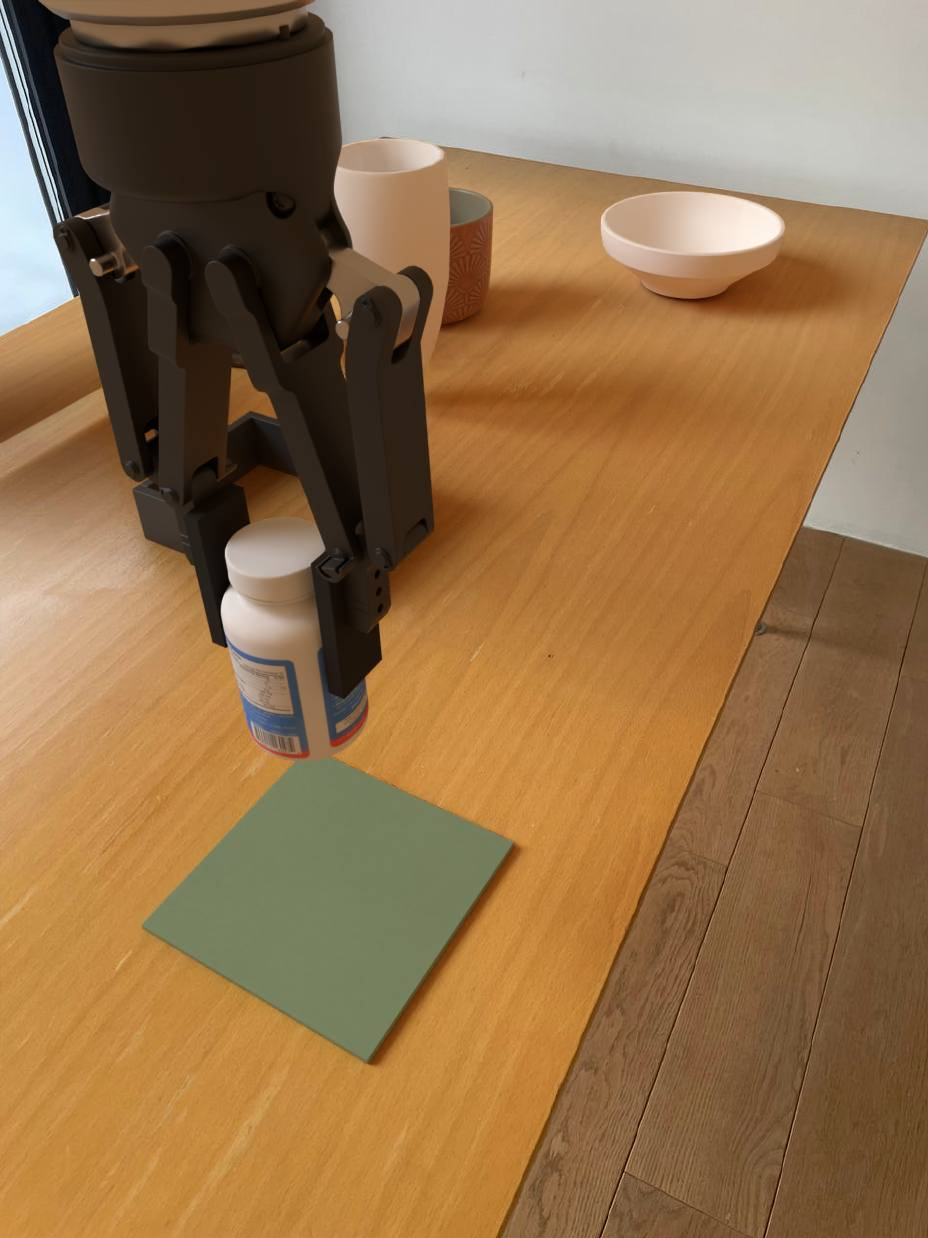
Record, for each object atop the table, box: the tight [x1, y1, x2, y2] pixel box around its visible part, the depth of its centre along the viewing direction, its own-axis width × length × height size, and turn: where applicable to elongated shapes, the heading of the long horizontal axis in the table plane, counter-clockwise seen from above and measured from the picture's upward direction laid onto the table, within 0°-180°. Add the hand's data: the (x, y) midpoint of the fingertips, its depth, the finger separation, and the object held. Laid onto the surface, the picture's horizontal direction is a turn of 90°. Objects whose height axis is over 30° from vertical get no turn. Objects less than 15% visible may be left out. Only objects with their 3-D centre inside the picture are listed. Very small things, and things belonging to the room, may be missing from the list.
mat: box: [141, 756, 515, 1065], centre depth 53 cm, size 14×14×1 cm
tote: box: [131, 410, 299, 555], centre depth 77 cm, size 17×14×4 cm
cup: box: [334, 138, 450, 376], centre depth 86 cm, size 10×10×22 cm
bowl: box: [600, 190, 787, 299], centre depth 111 cm, size 20×20×7 cm
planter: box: [441, 186, 494, 325], centre depth 105 cm, size 12×12×11 cm
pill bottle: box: [221, 516, 370, 762], centre depth 42 cm, size 6×5×10 cm
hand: (296, 650), depth 42 cm, fingers closed on pill bottle, 5 cm apart
